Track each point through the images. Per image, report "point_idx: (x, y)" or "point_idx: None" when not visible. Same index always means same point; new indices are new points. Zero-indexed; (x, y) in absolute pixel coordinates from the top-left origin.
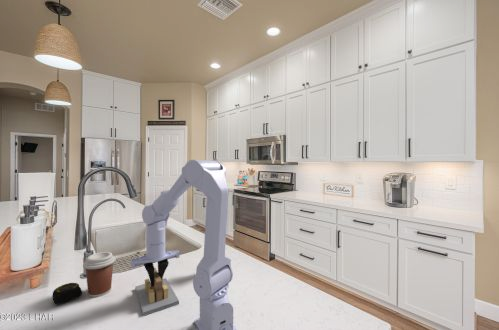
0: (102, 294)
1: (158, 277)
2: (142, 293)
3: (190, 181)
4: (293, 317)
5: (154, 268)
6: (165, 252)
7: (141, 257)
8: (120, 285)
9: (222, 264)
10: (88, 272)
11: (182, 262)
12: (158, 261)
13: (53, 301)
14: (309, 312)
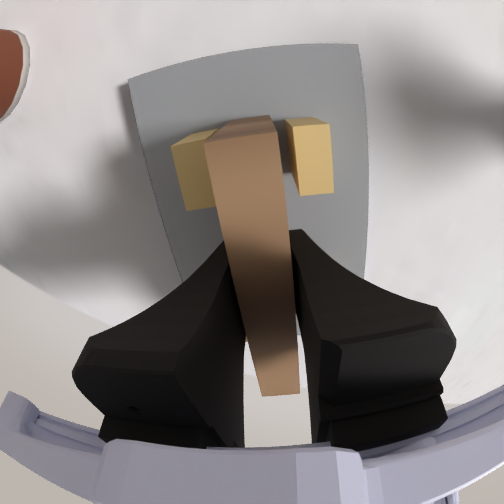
0: (7, 113)
1: (283, 358)
2: (180, 190)
3: None
4: (481, 392)
5: (263, 144)
6: (485, 459)
7: (40, 466)
8: (62, 22)
9: None
10: None
11: None
12: (318, 399)
13: None
14: (500, 384)
